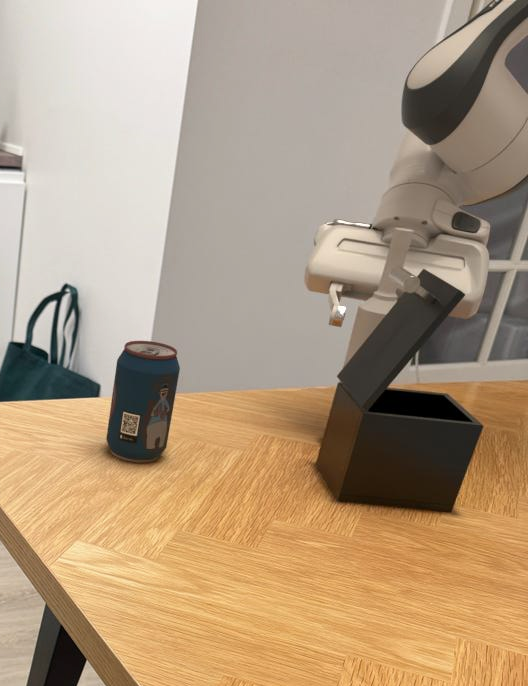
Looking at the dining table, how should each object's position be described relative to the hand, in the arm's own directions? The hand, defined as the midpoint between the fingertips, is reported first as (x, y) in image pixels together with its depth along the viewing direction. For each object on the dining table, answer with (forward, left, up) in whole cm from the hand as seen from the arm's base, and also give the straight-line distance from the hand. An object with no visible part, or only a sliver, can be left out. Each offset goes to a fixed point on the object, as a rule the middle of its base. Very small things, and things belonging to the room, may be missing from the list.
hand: (375, 331), depth 104 cm
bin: (-1, +12, -14) cm, 19 cm away
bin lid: (+2, +12, +2) cm, 13 cm away
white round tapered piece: (0, 0, -14) cm, 14 cm away
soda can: (+27, +9, -14) cm, 32 cm away
